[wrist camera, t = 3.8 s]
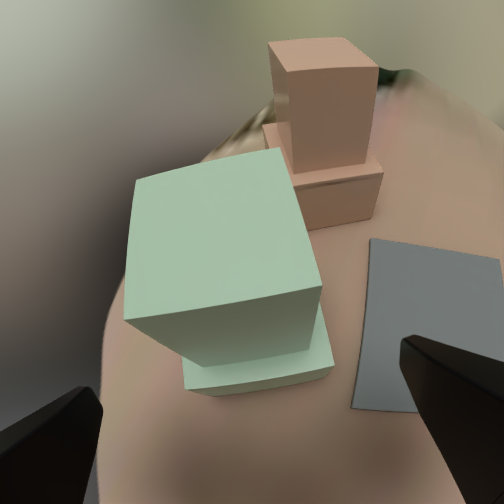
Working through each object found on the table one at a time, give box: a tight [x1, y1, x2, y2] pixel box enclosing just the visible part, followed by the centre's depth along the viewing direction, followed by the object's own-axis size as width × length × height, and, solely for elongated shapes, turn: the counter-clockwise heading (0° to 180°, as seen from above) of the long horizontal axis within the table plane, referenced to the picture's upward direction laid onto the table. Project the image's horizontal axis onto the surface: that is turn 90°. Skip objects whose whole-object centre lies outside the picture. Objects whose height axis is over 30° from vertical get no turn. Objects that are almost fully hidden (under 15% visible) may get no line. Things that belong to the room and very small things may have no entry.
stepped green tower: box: [124, 147, 335, 396], centre depth 14 cm, size 7×7×12 cm
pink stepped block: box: [262, 37, 384, 231], centre depth 19 cm, size 7×7×12 cm
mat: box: [351, 238, 504, 412], centre depth 17 cm, size 12×12×1 cm
